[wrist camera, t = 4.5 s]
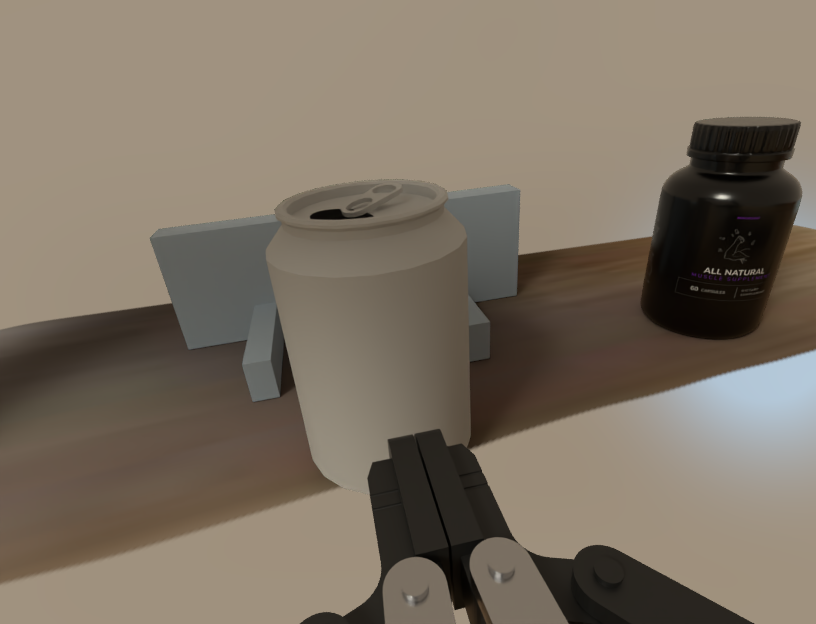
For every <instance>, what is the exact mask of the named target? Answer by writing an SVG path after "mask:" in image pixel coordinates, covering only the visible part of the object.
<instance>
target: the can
mask: <svg viewBox="0 0 816 624" xmlns="http://www.w3.org/2000/svg"><path fill="white" fill-rule="evenodd" d="M447 201H448V194H447V190H445V189H444V188H442V187H440V186H438V185H437V184H434V183H429V182H424V181H416V180H404V179H393V180H392V179H390V180H389V179H386V180H385V179H384V180H368V181H357V182H349V183H342V184H336V185H330V186H326V187H321V188H316V189H312V190H309V191H306V192H302V193H299V194H296V195H294V196H292V197H290V198H287V199H285V200H283V201H282V202H281V203H280V204H279V205H278V206H277V207H276V208H275V216H276V219H277V220H279V221H280V222H281V223H282V225H281V226H280V228H279V229H278V231H277V233H276V234H275V236H274V237H273V239H272V240H271V242H270V244H269V245H268V247H267V248H266V262H267V266H268V270H269V274H270V279H271V283H272V287H273V292H274V296H275V300H276V304H277V309H278V313H279V317H280V322H281V326H282V330H283V334H284V339H285V343H286V347H287V352H288V356H289V360H290V364H291V369H292V373H293V377H294V382H295V386H296V390H297V394H298V399H299V403H300V407H301V412H302V416H303V420H304V424H305V429H306V433H307V437H308V442H309V446H310V450H311V454H312V459H313V461H314V462H315V464H316V465H317V467H318V468H319V470H320V471H321V472H322V474H323V475H324V476H325V477H326V478H328V479H330V480H331V481H333V482H334V483H336V484H338V485H339V486H341V487H342V488H345V489H348V490H352V491H356V492H361V493H365V494H369V495H370V492H369V486H368V480H367V477H368V474H369V471H370V468H371V465H372V462H376V461H381V460H385V459H390V458H389V450H388V441H387V439H391V438H396V437H401V436H406V435H411V434H413V436H414V434H415V433H420V432H425V431H430V430H435V429H440V430H441V432H442V435H443V437H444V440H445V442H446V445H447V446H452V445H456V444H461V443H462V444H463V445H464V446H465V447H466V448H467V446H468V443H469V440H470V437H471V415H470V363H469V312H468V260H467V234H466V231H465V227H464V226H463V225H462V224H461V223H460V222H459V221H458V220H457V219H456V218H455V217H454V216H453V215H452V214H451V213H450V212H449V211H448V210H447V209H446V208H445V207H444V204H445V203H446V202H447Z"/></svg>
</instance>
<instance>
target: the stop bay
mask: <svg viewBox="0 0 816 624" xmlns="http://www.w3.org/2000/svg"><path fill="white" fill-rule="evenodd" d="M447 194H448V201H447V202H446V203H445V204H444V207H445V208H446V209H447V210H448V211H449V212H450V213H451V214H452V215H453V216H454V217H455V218H456V219H457V220H458V221H459V222H460V223H461V224H462V225H463V226H464V227H465V231H466V234H467V260H468V312H469V362H471V361H477V360H482V359H488V358H490V321H489V320H488V319H487V317H486V316H485V315H484V314H483V312H482V311H481V310H480V309H479V307H478V306H477V305H476V304H475V302H479V301H485V300H491V299H497V298H503V297H510V296H516V295H517V273H518V242H519V241H518V240H519V213H520V190H519V189H517V188H515V187H513V186H511V185H509V184H507V185H500V186H492V187H484V188H476V189H469V190H461V191H453V192H447ZM281 225H282V223H281V222H280V221H279V220H277V219H276V216H275V214H273V215H265V216H258V217H250V218H242V219H234V220H226V221H219V222H210V223H203V224H196V225H187V226H179V227H171V228H163V229H158V230H157V231H156V232H155V233H154V234H153V235H152V236H151V237H150V241H151V243H152V246H153V249H154V252H155V255H156V258H157V261H158V263H159V267H160V269H161V272H162V275H163V278H164V281H165V284H166V287H167V289H168V292H169V295H170V298H171V301H172V304H173V307H174V309H175V312H176V315H177V318H178V321H179V324H180V327H181V329H182V332H183V335H184V338H185V341H186V344H187V347H188V349H189V350H190V349H196V348H202V347H208V346H214V345H220V344H226V343H232V342H238V341H244V340H247V343H246V348H245V353H244V357H243V362H242V367H243V370H244V374H245V377H246V380H247V384H248V387H249V391H250V394H251V398H252V401H253V402H255V401H261V400H266V399H272V398H277V397H280V389H281V375H282V361H283V347H284V334H283V330H282V326H281V322H280V317H279V313H278V309H277V304H276V300H275V296H274V292H273V287H272V283H271V279H270V274H269V270H268V266H267V262H266V248H267V247H268V245H269V244H270V242H271V240H272V239H273V237H274V236H275V234H276V233H277V231H278V229H279V228H280V226H281Z"/></svg>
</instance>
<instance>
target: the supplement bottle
mask: <svg viewBox="0 0 816 624" xmlns="http://www.w3.org/2000/svg"><path fill="white" fill-rule="evenodd" d="M800 124H801V122H800V121H798V120H793V119H786V118H774V117H727V118H713V119H705V120H700V121H697V122H695V124H694V127H693V132H692V137H691V142H690V145H689V146H688V148H687V156H689V157H691V160H690V164H689V165H688V166H686V167H684V168H682V169H680V170H678V171H676V172H675V173H673V174H672V175H671V176H670V177H669V178H668V179H667V180H666V182H665V183H664V185H663V187H662V191H661V195H660V200H659V206H658V210H657V216H656V221H655V226H654V231H653V236H652V242H651V247H650V252H649V257H648V263H647V268H646V273H645V278H644V284H643V290H642V295H641V307H642V309H643V311H644V313H645V314H646V315H647V316H648V317H649V318H650V319H651V320H652V321H653V322H655V323H657V324H658V325H660V326H662V327H664V328H667V329H669V330H672V331H674V332H678V333H681V334H685V335H689V336H694V337H700V338H709V339H728V338H735V337H740V336H743V335H746V334H748V333H750V332H751V331H753V330H754V329H755V328H756V327H757V326H758V325H759V323H760V321H761V319H762V316H763V313H764V310H765V308H766V305H767V302H768V299H769V296H770V293H771V290H772V287H773V284H774V281H775V278H776V275H777V272H778V269H779V266H780V263H781V260H782V257H783V254H784V251H785V248H786V245H787V242H788V239H789V236H790V233H791V230H792V227H793V224H794V221H795V218H796V215H797V212H798V208H799V206H800V202H801V198H802V188H801V186H800V183H799V182H798V180H797V179H796V178H795V177H794V176H793V175H792V174H790V173H789V172H787V171H786V170H784V169H783V166H784V162H785V160H788V159H791V158H792V156H793V153H794V150H795V149H794V145H795V142H796V138H797V135H798V132H799V129H800Z"/></svg>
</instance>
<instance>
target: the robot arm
mask: <svg viewBox="0 0 816 624" xmlns="http://www.w3.org/2000/svg"><path fill="white" fill-rule="evenodd" d="M387 441H388V450H389V458H390V459H385V460H381V461H376V462H372V465H371V468H370V471H369V474H368V477H367V480H368V486H369V492H370V498H371V504H372V511H373V516H374V523H375V529H376V535H377V541H378V547H379V553H380V560H381V568H382V569H381V577H380V581H379V583H378V586H377V588H376V589H375V591H374V593H373V594H372V595H371V597H370V598H369V599H368V600H367V601H366V602H365V603H363V604H362V605H360V606H359V607H357V608H356V609H354V610H353V611H351V612H350V613H348V614H347V615H345V616H343V617H342V616H340V615H338V614H335V613H330V612H323V613H318V614H315V615H312V616H311V617H309V618H307V619H305V620H304V621H303V622H301V623H300V624H456V623H455V618H454V613H453V608H452V602H453V605H454V609H455V610H457V609H461V608H466V611H467V615H468V618H469V621H470V624H754V623H752V622H750V621H748V620H746V619H744V618H743V617H740V616H739V615H737V614H735V613H733V612H732V611H730V610H728V609H726V608H724V607H722V606H720V605H718V604H717V603H715V602H713V601H711V600H709V599H707V598H706V597H704V596H702V595H700V594H698V593H696V592H694V591H693V590H690V589H689V588H687V587H685V586H683V585H681V584H680V583H678V582H676V581H674V580H672V579H670V578H668V577H667V576H665V575H663V574H661V573H659V572H657V571H655V570H653V569H651V568H650V567H648V566H646V565H644V564H642V563H641V562H639V561H637V560H635V559H633V558H631V557H629V556H628V555H626V554H624V553H622V552H620V551H618V550H616V549H614V548H611V547H608V546H603V545H593V546H588V547H586V548H584V549H582V550H581V551H580V552H578V554H577V555H576V557H575V559H574V560H573V559H561V558H550V557H543V556H539V555H536V554H534V553H532V552H530V551H528V550H526V549H525V548H523V547H522V546H521V545H520V544H519V543H518V542H517V541H516V540H515V539H514V537H513V536H512V534H511V533H510V530H509V528H508V526H507V524H506V522H505V519H504V517H503V515H502V513H501V511H500V509H499V507H498V504H497V502H496V500H495V498H494V496H493V493H492V491H491V489H490V487H489V486H488V484H487V481H486V478H485V476H484V474H483V473H482V470H481V467H480V466H479V463H478V462H477V459H476V457H475V455H474V454H473V453H472V452H471V451H470V450H468V449H467V448H466V447H465V446H464V445H463V444H462V443H461V444H456V445H452V446H447V445H446V442H445V440H444V437H443V435H442V432H441V430H440V429H435V430H430V431H425V432H420V433H415V434H414V436H413V434H411V435H406V436H401V437H396V438H391V439H387Z"/></svg>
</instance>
